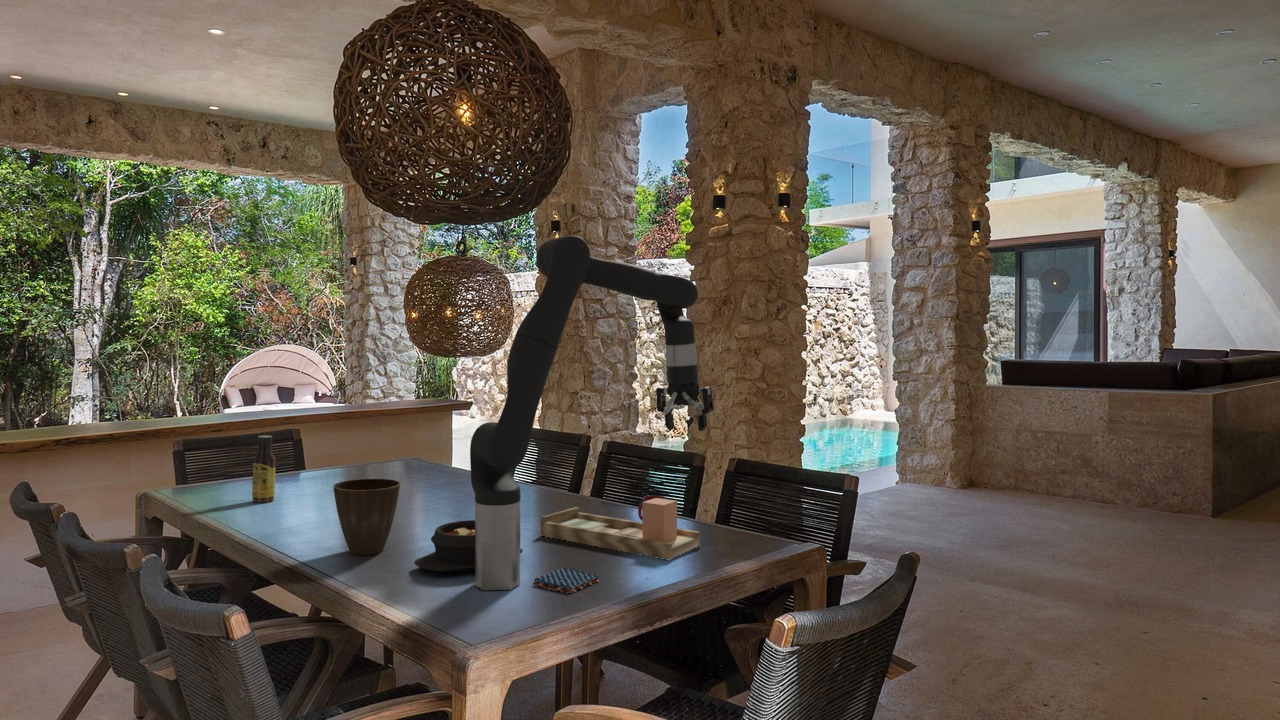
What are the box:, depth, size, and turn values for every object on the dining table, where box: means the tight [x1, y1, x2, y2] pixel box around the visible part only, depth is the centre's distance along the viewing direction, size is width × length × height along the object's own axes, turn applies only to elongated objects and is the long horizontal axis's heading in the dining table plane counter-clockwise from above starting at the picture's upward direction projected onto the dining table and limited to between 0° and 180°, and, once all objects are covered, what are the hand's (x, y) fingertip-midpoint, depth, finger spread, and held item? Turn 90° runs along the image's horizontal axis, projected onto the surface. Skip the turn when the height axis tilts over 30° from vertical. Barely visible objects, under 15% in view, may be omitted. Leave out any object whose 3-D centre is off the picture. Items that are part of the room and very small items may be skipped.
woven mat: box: [532, 567, 600, 593], centre depth 170 cm, size 10×11×2 cm
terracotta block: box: [642, 498, 678, 542], centre depth 197 cm, size 6×6×9 cm
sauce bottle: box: [251, 435, 276, 504], centre depth 248 cm, size 7×6×20 cm
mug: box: [637, 495, 668, 522], centre depth 223 cm, size 7×10×7 cm
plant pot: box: [332, 478, 401, 556], centre depth 193 cm, size 15×15×16 cm
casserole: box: [414, 519, 524, 573], centre depth 183 cm, size 25×19×8 cm
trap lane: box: [540, 506, 701, 561], centre depth 204 cm, size 38×14×5 cm, turn 56°
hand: (686, 430), depth 197 cm, fingers open, 8 cm apart
